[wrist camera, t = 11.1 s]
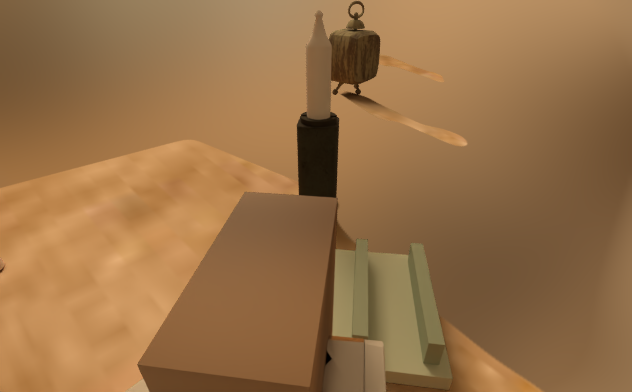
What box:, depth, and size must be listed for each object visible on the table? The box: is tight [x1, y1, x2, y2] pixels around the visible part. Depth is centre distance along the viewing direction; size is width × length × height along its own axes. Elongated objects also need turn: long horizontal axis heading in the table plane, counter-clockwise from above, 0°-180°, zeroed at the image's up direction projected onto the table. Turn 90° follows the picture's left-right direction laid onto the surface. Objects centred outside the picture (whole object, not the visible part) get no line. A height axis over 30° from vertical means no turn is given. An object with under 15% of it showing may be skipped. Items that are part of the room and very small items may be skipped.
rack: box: [332, 239, 453, 390], centre depth 32 cm, size 14×20×4 cm
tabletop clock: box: [329, 1, 380, 95], centre depth 99 cm, size 14×9×25 cm, turn 137°
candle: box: [297, 11, 339, 198], centre depth 43 cm, size 5×5×25 cm
